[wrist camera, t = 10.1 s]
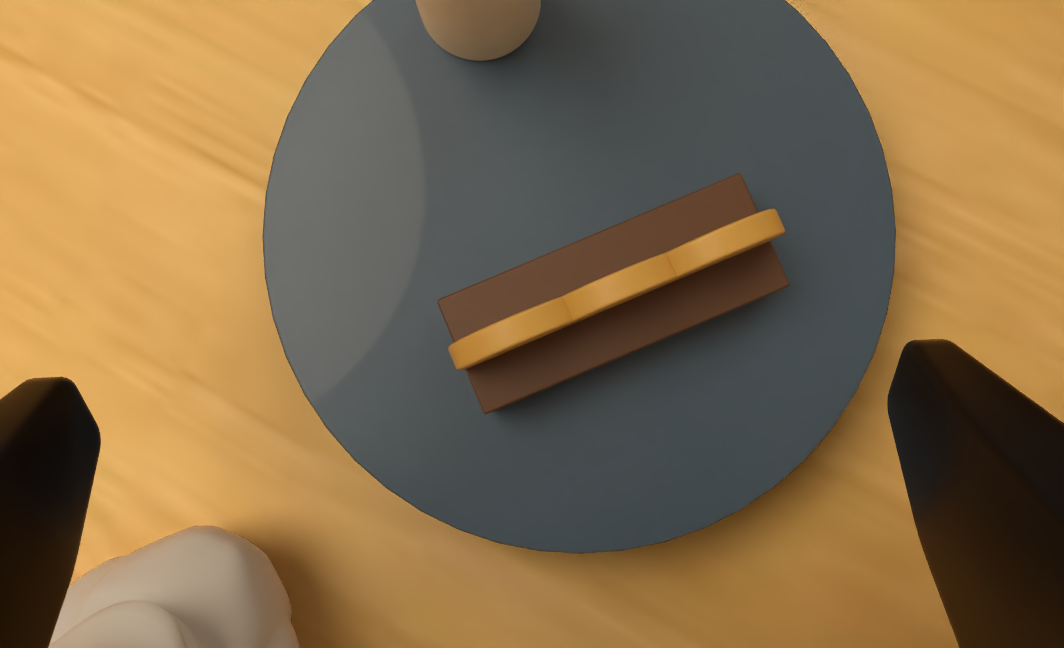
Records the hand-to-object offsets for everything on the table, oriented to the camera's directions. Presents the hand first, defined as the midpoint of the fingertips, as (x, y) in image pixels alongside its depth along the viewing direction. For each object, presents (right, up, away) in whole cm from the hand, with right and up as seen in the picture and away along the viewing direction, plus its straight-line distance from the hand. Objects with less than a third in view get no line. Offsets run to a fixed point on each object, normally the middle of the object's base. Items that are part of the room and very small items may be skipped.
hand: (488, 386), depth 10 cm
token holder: (+1, +3, +10) cm, 11 cm away
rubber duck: (-7, -7, +11) cm, 15 cm away
